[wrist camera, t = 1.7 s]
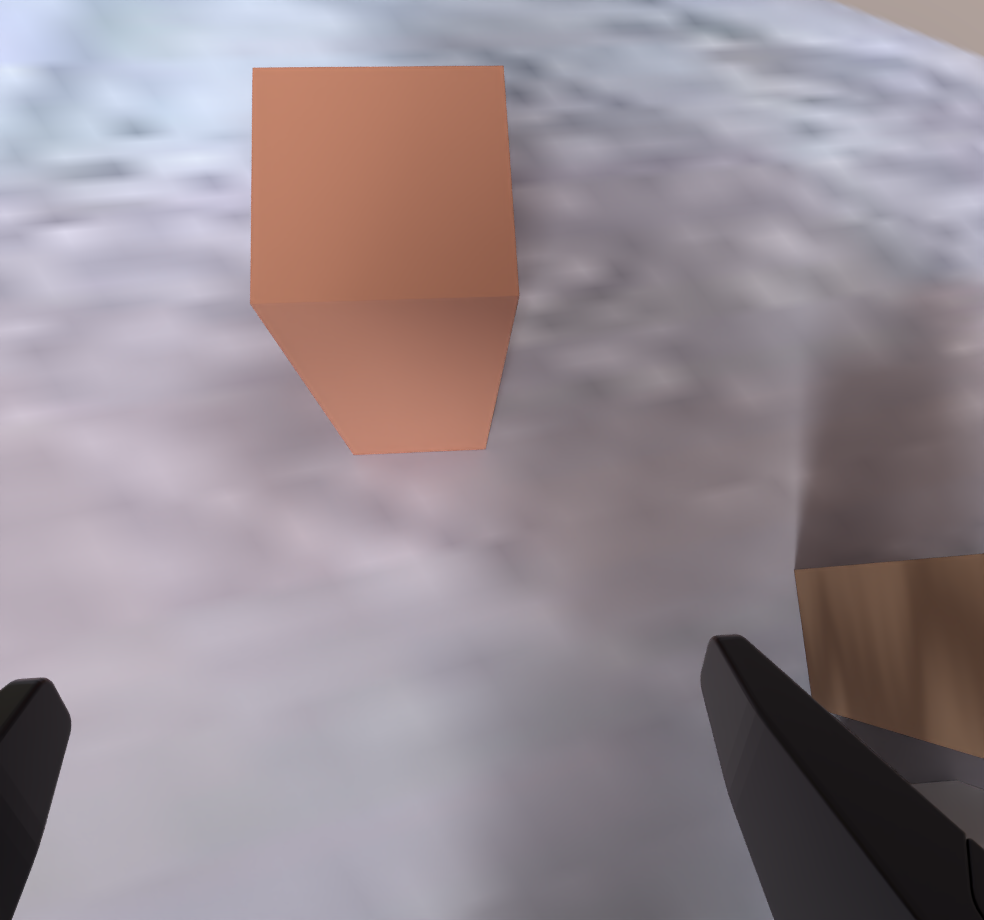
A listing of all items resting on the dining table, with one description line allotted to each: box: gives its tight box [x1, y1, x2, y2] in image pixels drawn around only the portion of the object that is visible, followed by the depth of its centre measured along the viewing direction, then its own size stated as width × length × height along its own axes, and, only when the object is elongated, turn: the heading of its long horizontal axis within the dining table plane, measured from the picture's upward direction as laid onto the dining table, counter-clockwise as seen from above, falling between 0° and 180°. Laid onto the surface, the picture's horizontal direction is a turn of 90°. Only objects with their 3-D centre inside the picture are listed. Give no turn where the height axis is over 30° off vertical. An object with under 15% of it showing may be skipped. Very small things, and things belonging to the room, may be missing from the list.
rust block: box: [250, 66, 519, 455], centre depth 18 cm, size 4×4×12 cm
